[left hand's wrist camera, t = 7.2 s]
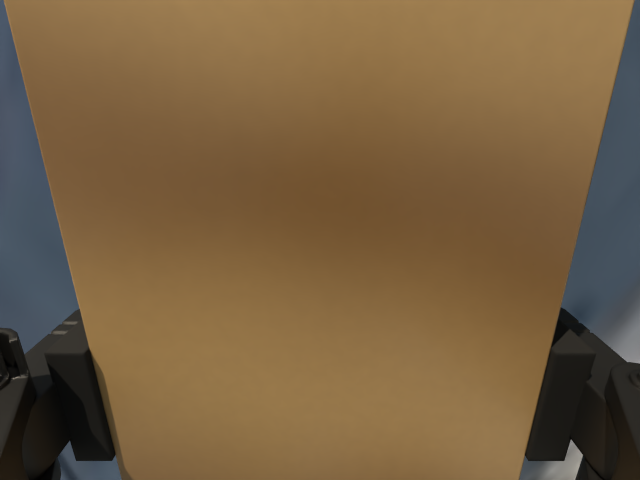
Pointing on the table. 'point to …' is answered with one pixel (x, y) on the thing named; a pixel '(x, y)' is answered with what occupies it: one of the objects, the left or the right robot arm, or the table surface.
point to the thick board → (319, 221)
